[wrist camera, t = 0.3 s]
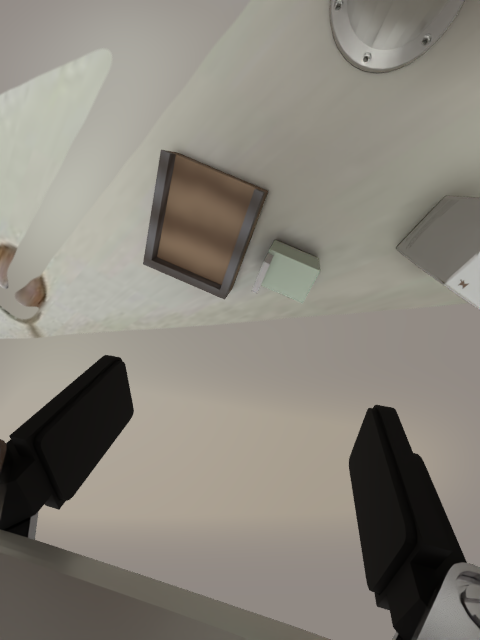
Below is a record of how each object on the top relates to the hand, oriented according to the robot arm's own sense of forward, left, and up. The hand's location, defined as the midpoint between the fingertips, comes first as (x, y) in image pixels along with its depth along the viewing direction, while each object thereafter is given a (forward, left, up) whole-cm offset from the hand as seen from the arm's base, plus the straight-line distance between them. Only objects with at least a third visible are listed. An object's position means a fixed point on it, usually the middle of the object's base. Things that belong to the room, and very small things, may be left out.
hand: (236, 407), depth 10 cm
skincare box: (-7, +18, -34) cm, 39 cm away
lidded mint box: (+4, +2, -34) cm, 34 cm away
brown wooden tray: (+4, -12, -34) cm, 36 cm away
